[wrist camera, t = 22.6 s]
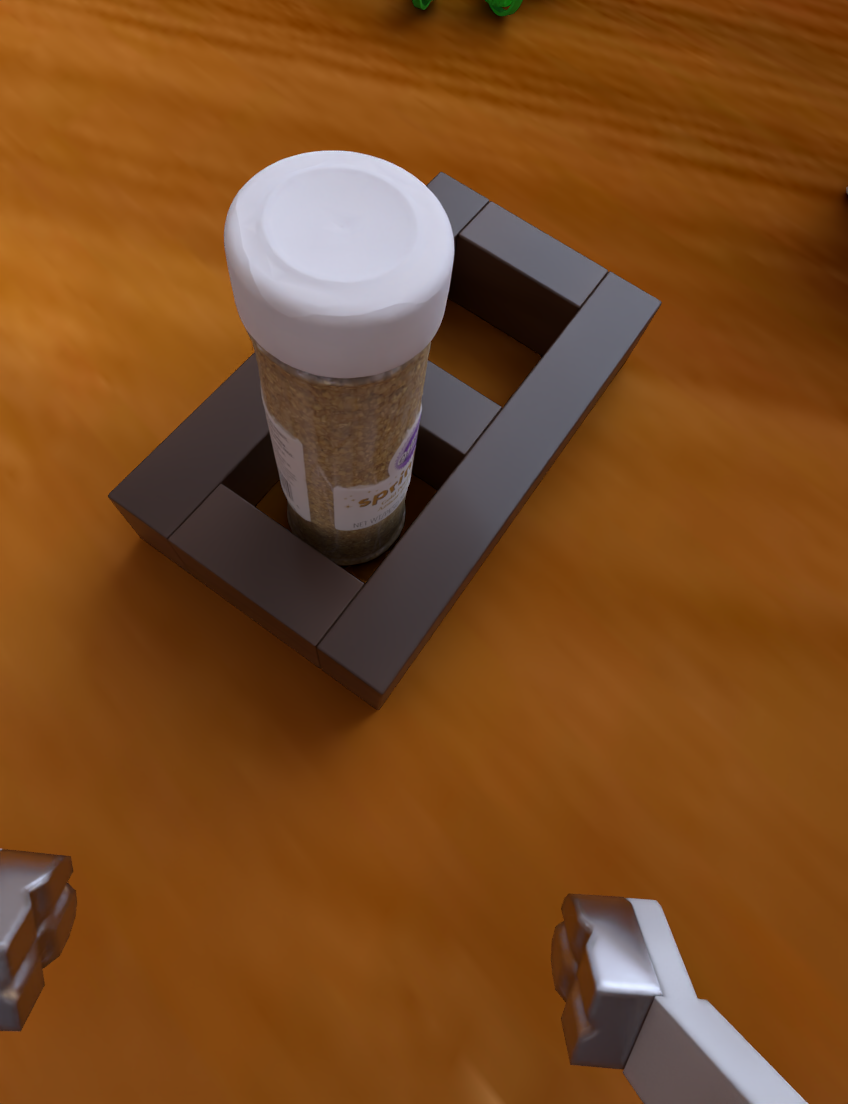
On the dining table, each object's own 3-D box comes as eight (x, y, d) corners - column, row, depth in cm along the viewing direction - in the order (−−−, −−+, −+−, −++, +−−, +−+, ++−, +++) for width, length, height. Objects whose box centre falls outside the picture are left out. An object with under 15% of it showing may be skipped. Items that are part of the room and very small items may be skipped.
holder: (139, 537, 24) (105, 495, 20) (431, 237, 30) (440, 170, 27) (378, 711, 22) (382, 696, 19) (628, 357, 29) (663, 301, 26)
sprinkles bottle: (397, 576, 24) (446, 336, 12) (275, 559, 24) (192, 295, 11) (412, 469, 26) (467, 159, 13) (298, 452, 26) (247, 120, 13)
